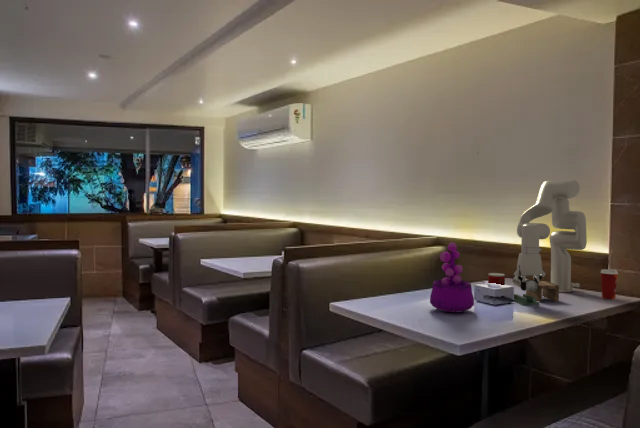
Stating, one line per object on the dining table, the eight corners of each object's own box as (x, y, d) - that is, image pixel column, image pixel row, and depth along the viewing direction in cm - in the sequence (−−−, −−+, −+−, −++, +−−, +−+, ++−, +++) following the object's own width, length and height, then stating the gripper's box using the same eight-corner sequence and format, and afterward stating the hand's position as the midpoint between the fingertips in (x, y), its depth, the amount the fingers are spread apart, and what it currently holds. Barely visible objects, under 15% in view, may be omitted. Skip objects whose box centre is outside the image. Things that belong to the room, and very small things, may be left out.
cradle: (526, 299, 242) (527, 293, 242) (539, 305, 230) (539, 298, 230) (510, 299, 241) (510, 293, 241) (522, 305, 229) (522, 298, 229)
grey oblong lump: (512, 286, 243) (512, 276, 242) (522, 285, 243) (522, 275, 243) (527, 292, 228) (526, 281, 228) (537, 291, 228) (537, 280, 228)
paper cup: (621, 300, 240) (621, 271, 240) (605, 300, 240) (605, 271, 240) (611, 297, 248) (612, 269, 247) (596, 297, 248) (596, 269, 248)
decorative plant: (443, 317, 207) (443, 245, 206) (422, 307, 224) (422, 241, 223) (482, 314, 212) (483, 243, 211) (459, 305, 229) (460, 240, 228)
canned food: (501, 298, 245) (502, 275, 245) (485, 296, 250) (486, 274, 250) (506, 295, 252) (507, 273, 251) (490, 293, 256) (491, 272, 256)
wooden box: (545, 296, 249) (545, 281, 249) (558, 301, 237) (558, 285, 237) (526, 296, 249) (526, 281, 248) (537, 301, 237) (538, 285, 237)
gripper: (543, 250, 234) (543, 288, 235) (508, 250, 233) (507, 288, 234) (552, 251, 227) (551, 291, 227) (515, 251, 226) (515, 291, 226)
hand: (529, 289), depth 231 cm, fingers closed on grey oblong lump, 5 cm apart
